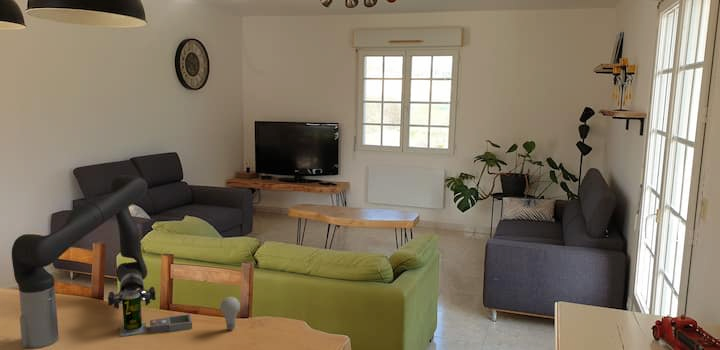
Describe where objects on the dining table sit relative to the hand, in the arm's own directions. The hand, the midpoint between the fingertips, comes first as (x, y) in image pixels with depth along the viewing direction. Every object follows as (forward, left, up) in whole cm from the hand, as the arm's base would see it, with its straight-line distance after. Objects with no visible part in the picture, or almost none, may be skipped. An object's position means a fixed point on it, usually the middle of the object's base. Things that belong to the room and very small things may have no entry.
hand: (132, 304), depth 175 cm
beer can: (0, +1, -9) cm, 9 cm away
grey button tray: (+11, -1, -9) cm, 14 cm away
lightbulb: (+29, -10, -9) cm, 32 cm away
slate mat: (0, +1, -9) cm, 9 cm away
